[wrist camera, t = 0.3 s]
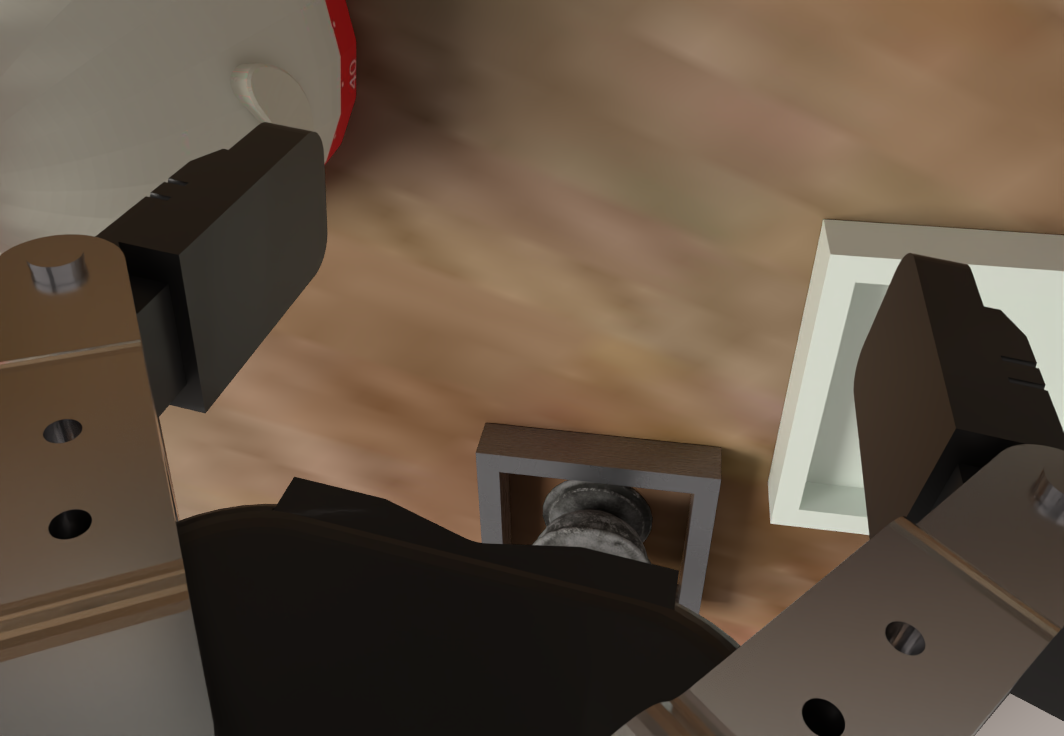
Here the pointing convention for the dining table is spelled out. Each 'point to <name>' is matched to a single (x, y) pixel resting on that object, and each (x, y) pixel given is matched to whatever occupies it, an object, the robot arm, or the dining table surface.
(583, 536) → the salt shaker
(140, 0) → the kitchen timer
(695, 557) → the holder
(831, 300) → the tray
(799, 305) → the dining table surface
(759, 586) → the dining table surface
